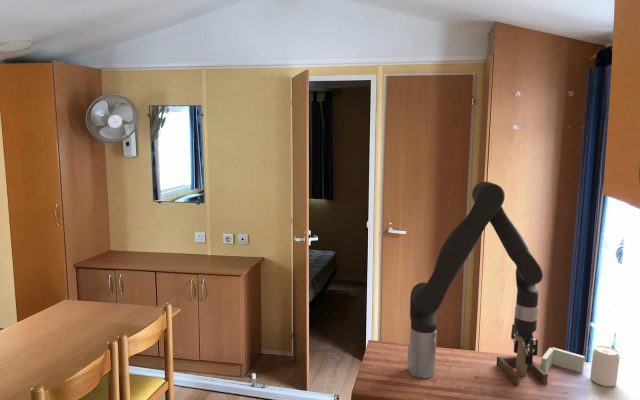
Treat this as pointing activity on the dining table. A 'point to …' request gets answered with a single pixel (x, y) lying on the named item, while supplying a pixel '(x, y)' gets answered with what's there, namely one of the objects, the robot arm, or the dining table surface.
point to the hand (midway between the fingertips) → (522, 358)
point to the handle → (520, 357)
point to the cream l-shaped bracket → (562, 360)
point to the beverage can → (604, 366)
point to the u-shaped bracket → (505, 367)
